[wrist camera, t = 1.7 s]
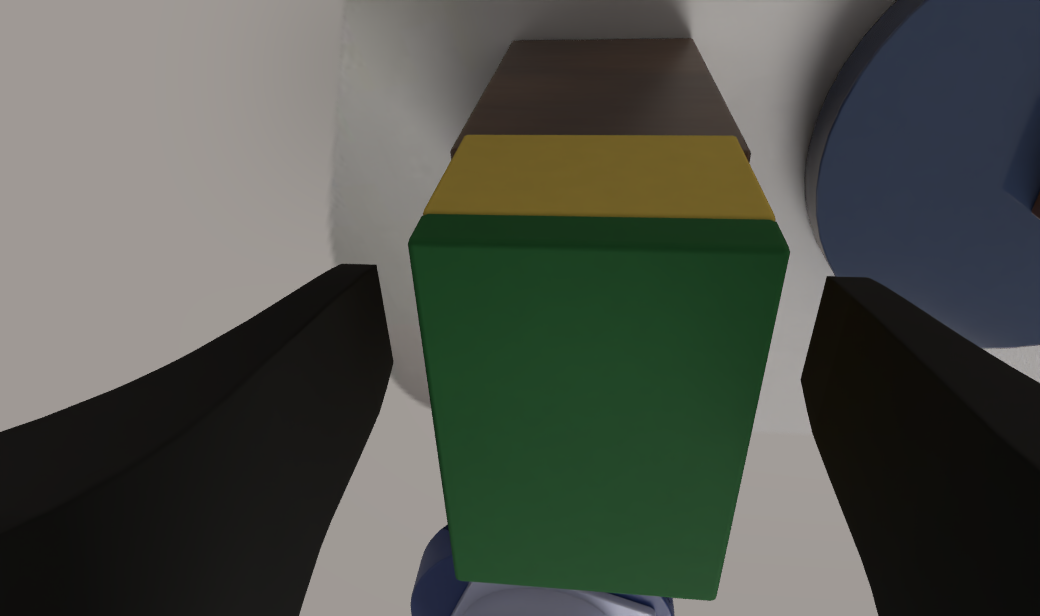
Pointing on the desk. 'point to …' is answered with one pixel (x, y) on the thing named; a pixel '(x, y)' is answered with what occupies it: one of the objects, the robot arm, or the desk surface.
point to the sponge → (595, 354)
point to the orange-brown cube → (1036, 207)
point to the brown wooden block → (602, 91)
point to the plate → (938, 165)
